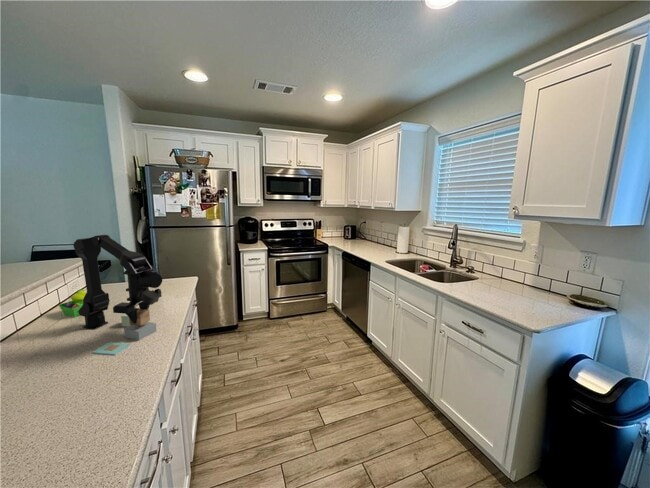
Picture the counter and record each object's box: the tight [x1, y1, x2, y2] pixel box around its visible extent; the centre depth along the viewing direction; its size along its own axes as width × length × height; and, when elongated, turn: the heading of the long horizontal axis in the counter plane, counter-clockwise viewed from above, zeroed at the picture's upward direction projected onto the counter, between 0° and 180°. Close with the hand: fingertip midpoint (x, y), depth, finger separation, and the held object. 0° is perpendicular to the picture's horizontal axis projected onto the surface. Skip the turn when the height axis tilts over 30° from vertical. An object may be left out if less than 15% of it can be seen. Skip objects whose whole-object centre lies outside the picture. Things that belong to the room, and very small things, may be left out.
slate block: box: [123, 321, 158, 341], centre depth 113 cm, size 8×8×4 cm
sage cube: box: [120, 314, 131, 327], centre depth 122 cm, size 5×5×5 cm
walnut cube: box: [129, 308, 151, 326], centre depth 112 cm, size 5×5×5 cm
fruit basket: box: [58, 289, 87, 318], centre depth 130 cm, size 11×9×11 cm
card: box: [92, 341, 131, 356], centre depth 102 cm, size 9×7×1 cm
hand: (139, 320), depth 112 cm, fingers closed on walnut cube, 5 cm apart
